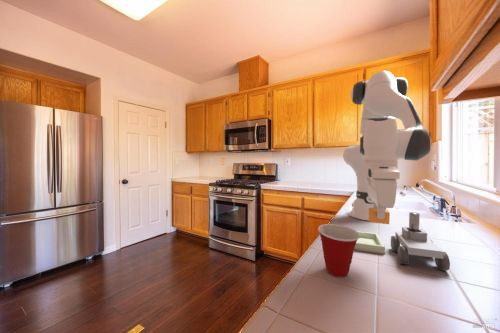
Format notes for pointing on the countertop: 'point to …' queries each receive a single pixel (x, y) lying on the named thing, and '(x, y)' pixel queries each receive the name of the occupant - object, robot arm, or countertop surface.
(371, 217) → the chock
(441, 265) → the cart
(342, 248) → the plastic cup
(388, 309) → the countertop surface
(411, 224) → the pin
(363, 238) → the tray
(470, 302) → the countertop surface
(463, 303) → the countertop surface
